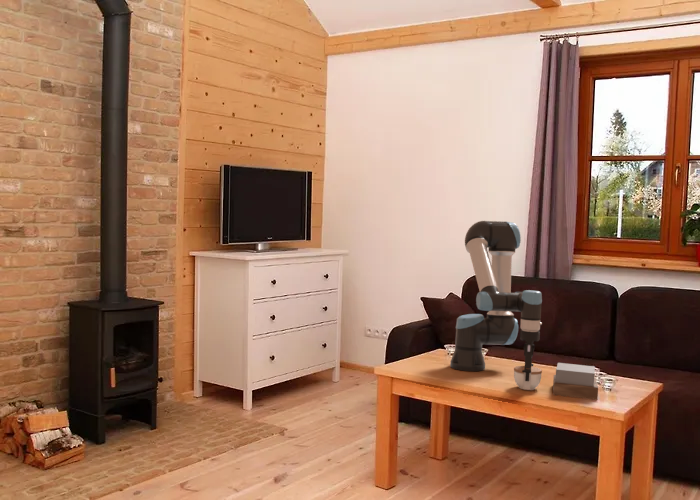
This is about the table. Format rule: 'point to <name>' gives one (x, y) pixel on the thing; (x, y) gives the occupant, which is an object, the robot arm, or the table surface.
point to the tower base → (575, 390)
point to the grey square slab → (575, 374)
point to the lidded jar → (534, 376)
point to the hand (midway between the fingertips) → (527, 385)
